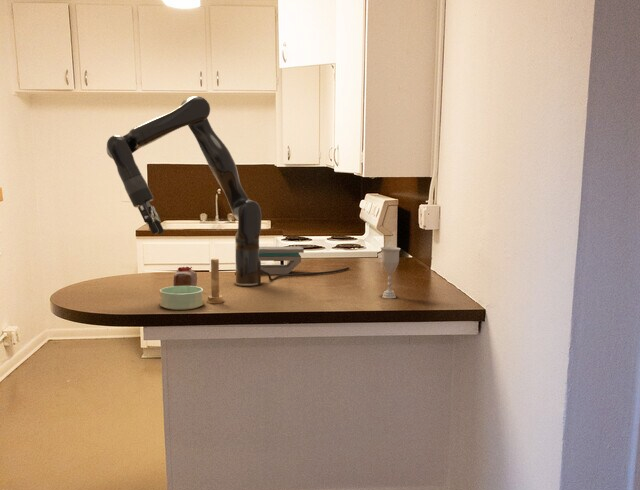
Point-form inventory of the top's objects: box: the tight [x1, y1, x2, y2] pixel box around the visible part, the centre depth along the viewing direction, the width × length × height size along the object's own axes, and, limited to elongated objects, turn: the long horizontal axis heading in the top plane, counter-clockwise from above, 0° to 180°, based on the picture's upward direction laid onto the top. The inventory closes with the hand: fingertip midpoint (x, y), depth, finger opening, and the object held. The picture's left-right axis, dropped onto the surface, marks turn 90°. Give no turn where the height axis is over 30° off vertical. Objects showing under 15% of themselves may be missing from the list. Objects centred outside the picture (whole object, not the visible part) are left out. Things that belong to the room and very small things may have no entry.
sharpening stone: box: [259, 246, 305, 275], centre depth 287 cm, size 25×8×11 cm, turn 98°
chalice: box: [380, 246, 401, 299], centre depth 241 cm, size 7×7×18 cm
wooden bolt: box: [207, 258, 224, 304], centre depth 228 cm, size 5×5×15 cm
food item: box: [173, 266, 198, 287], centre depth 242 cm, size 14×8×10 cm, turn 7°
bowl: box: [159, 285, 205, 311], centre depth 222 cm, size 14×14×6 cm
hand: (159, 233), depth 232 cm, fingers open, 8 cm apart
